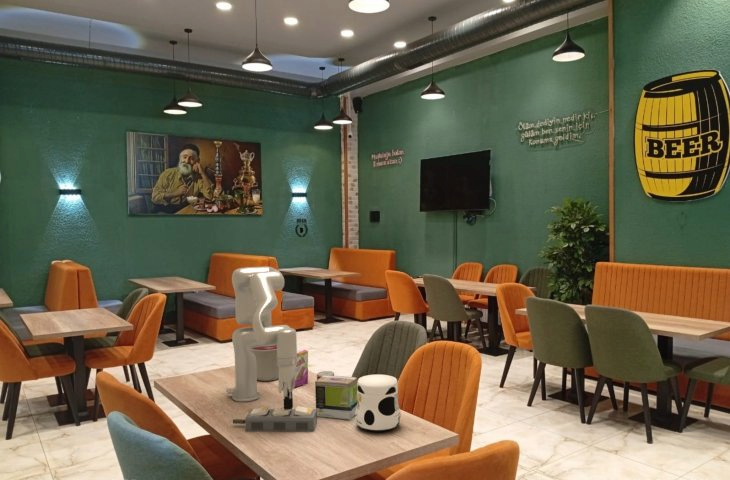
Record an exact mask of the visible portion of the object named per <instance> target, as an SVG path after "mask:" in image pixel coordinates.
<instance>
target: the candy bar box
mask: <svg viewBox="0 0 730 480" xmlns="http://www.w3.org/2000/svg"><path fill="white" fill-rule="evenodd" d="M307 384H309V351H308V350H306V349H297V365H295V387H294V388H293V390H294V389H296V388H299V387H302V386H305V385H307Z"/></svg>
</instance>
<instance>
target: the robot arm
mask: <svg viewBox="0 0 730 480" xmlns="http://www.w3.org/2000/svg"><path fill="white" fill-rule="evenodd" d="M231 283H232V287H233V290H234V294H235V321H236V323H237V324H238V325H240V326H246V327H240V328H238V329H235V330H234V331H233V333H232V335H231V339H232V340H231V341H232V346H233V353H234V354H233V355H234V375H235V376H234V378H235V379H234V381H235V387H232V388H231V387H227V388H226V393H227V394H229V395H231V394H232V396H231V398H232V400H233V401H235V402H252V401H257V400H258V399H260V398H261V395H262V394H261V392H260V391H258V380H257V362H256V356H255V354H254V353H253V352H252V351H251V348H256V347H266V346H273V345H277V366H279V378H278V393H279V394H281V393H282V392H283V407H284V409H294V401H293V400H294V399H293V390H294V389H295V388H294V387H295V365H297V350H298V349H297V348H298V347H297V346H298V345H297V342H298V341H297V331H296V328H292V327H290V325H288V324H280V325H279V324H278V325H272V311H273V310H275V308H276V307H277V306H278V304H279V302H278V298H277V295H276V292H275V291H281V290H282V289H283V288H285V278H284V276H283V274H282V272H281V271H279V269H276V268H274V267H272V266H268V265H267V266H247V267H240V268H237V269H235V270H234V271H233V273H232V274H231ZM248 325H252V326H248ZM293 388H294V389H293Z"/></svg>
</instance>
